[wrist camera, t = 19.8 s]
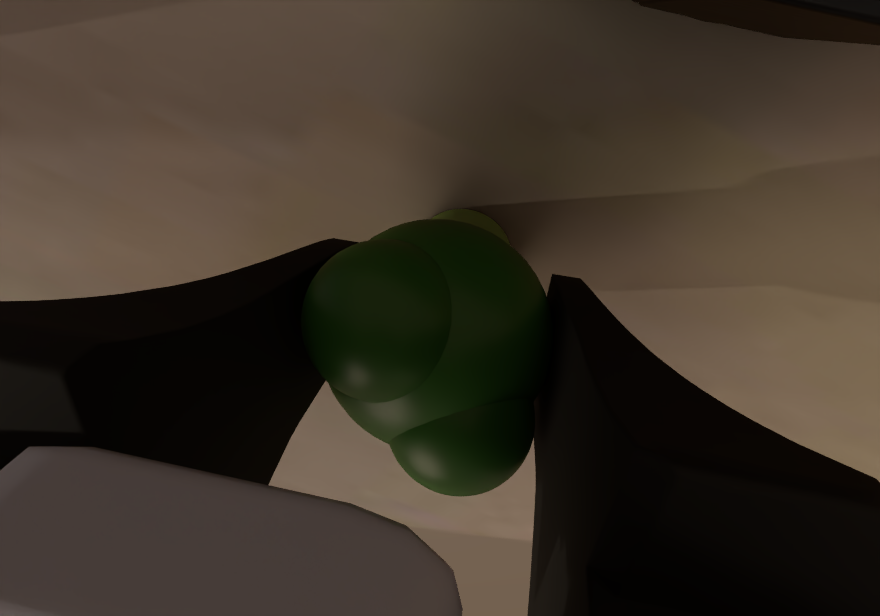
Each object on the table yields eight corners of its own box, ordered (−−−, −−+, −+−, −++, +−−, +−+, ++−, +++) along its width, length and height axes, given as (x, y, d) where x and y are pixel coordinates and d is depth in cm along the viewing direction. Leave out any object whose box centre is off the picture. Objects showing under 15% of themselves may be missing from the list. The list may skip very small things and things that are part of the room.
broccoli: (445, 356, 15) (389, 554, 10) (340, 215, 13) (196, 358, 8) (586, 293, 13) (619, 493, 8) (485, 120, 12) (433, 216, 6)
